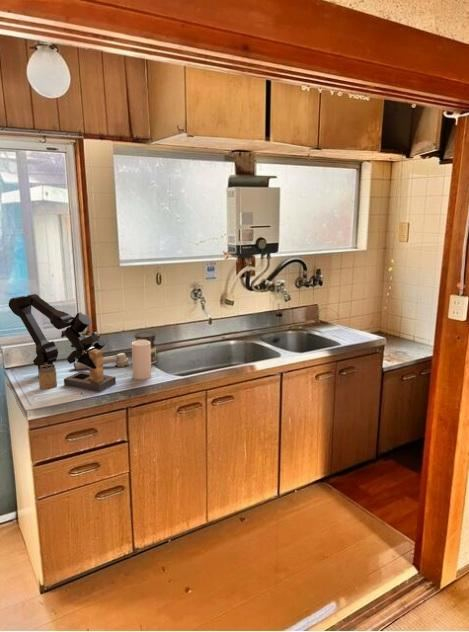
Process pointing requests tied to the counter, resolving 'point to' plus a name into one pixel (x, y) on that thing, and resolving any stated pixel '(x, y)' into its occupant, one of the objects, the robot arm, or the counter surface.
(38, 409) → the counter surface
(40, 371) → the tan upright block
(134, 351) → the cup
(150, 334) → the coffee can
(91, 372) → the wood peg
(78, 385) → the rail
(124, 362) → the wooden mallet
